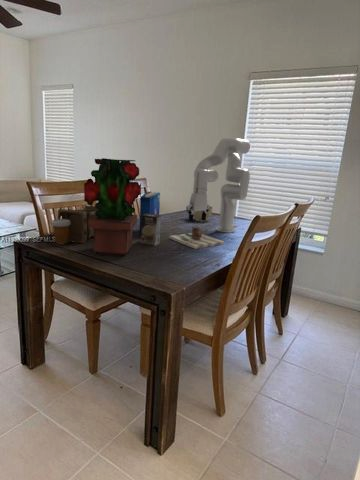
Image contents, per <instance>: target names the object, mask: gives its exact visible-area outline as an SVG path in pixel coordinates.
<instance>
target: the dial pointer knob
mask: <svg viewBox="0 0 360 480" xmlns="http://www.w3.org/2000/svg"><path fill="white" fill-rule="evenodd" d="M191 228H192V229H191V233H192V235H191V234H188V233H185V234H187V235H189V236H192V238H194V239H200V238H201V237H202V234H203V228H201V227H198V226H192V227H191Z"/></svg>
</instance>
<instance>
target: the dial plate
mask: <svg viewBox="0 0 360 480" xmlns="http://www.w3.org/2000/svg"><path fill="white" fill-rule="evenodd" d="M188 234H191V235H192V232H189V233H188ZM168 237H169V238H168V239H170V240H172V241H175V242H177V243H179V244H182V245H185V246H187V247H189V248H191V249H195V250H196V249H203V248H207V247H208V248H209V247H214V246H220V245H221V246H222V245H224V244H225V241H224V240H220V239H217V238H215V237H213V236H209V235H206V234H203V233H202V237H201V238H200V239H194V238H192V236H189V235H187V234H186V233H181V234H175V235H173V234H172V235H169V236H168Z"/></svg>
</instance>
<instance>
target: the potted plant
mask: <svg viewBox="0 0 360 480" xmlns="http://www.w3.org/2000/svg"><path fill="white" fill-rule="evenodd" d="M135 162H136V160H134V159H114V158H103V157H102V158H94V163H95V164H96V165H99V166H98V169H95V170H94V169H93V170H91V171H90V175H91V177H94V179H92V178H88V179H87V180H86V182H84V183H83V190H84V191H83V195H84V196H83V197H84V199H83V200H84V202H86V203H87V206H93V205H94V206H95V207H96V208H97V209H99V210H97V211H96V212H95V216H93V217H92V218H90V219H89V220H88V228H94V236H93V252H98V254H99V255H100V254H102V255H103V256H116V257H117V256H118V257H124V255H125V254H128V252H129V250H130V249H131V248H132V246H133V228H134V227H135V226H136V224H137V223H138V214H134V213H135V212H136V208H135V207H133V205H134V203H135V201H136V199H138V198H139V197H141V196H142V182H140V183H139V182H138V181H135V180H136V179H137V177H139V176H140V168H139V167H138V166H137V164H136V163H135ZM94 202H96V203H95V204H94Z"/></svg>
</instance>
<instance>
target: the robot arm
mask: <svg viewBox="0 0 360 480" xmlns="http://www.w3.org/2000/svg"><path fill="white" fill-rule="evenodd" d="M250 149H251V143H250V141H249V140H248V139H243V138H237V137H236V138H233V137H232V138H230V137H225V138H224V137H223V138H221V139H220V140H219V142H218V144H217V145H216V146H215V148H214V150H213V151H212V153H211V154H210V155H208V156H206V157H204V158H203V159H201V161H199V163H198V164H197V165H196V167H195V169H194V172H193V189H192V191H193V192H191V196H190V199H189V204H188V205H187V206H186V207H185V209H186V212H187V213H188V222H191V223H193V222H194V215H193V213H194V212H195V211H202V212H203V213H202V217H201V220H204V221H205V222H207V221H206V214H207V212H208V211H209V208H210V206H211V205H209V204H208V194H207V192H208V183H215V182H217V180H218V179H219V173H218V171H217V170H216V169H213V168H212V167H215V166H220V165H221V164H223V163H224V162H225V160H226V159H227V164H226V171H225V180H226V181H227V182H229V183H226V184H223V185H222V186H221V188H220V211H219V222H218V223H219V224H218V227H216V231H218V232H220V233H228V234H229V233H230V234H231V233H235V231H236V230H235V228H237V227H238V224H235V223H234V221H235V220H234V219H235V210H236V204H235V200H236V201H245V200H246V198H247V195H248V191H249V184H250V179H251V173H250V170H249V169H248V168H241V165H242V164H241V162H242V160H241V156H240V155H239V154H241V155H245V154H248V152H249V151H250ZM231 183H234V184H231ZM235 183H236V184H235Z"/></svg>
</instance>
